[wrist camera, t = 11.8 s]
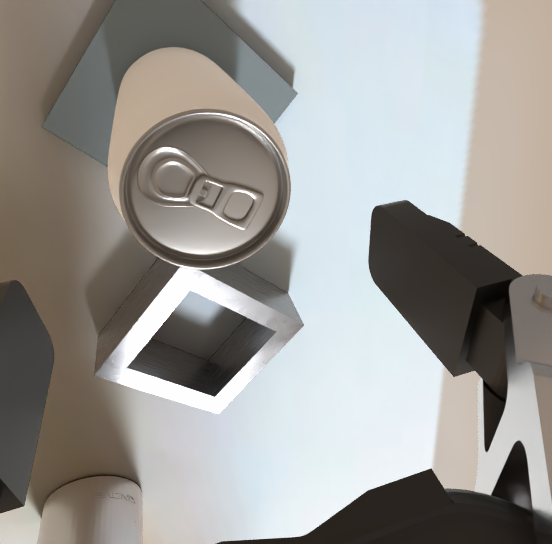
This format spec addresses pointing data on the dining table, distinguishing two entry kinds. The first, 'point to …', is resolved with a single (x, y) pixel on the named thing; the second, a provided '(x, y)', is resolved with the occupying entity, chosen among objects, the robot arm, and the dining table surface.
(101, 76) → the mat
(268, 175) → the can
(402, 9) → the dining table surface
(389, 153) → the dining table surface
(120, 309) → the sleeve
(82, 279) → the dining table surface
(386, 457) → the dining table surface
